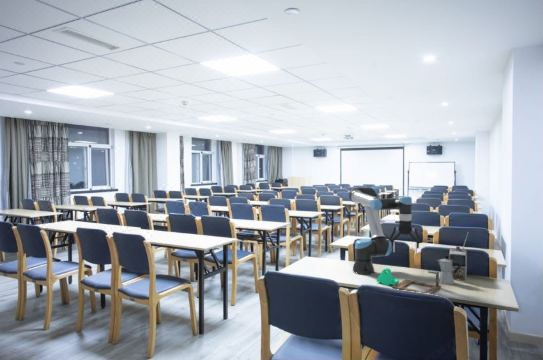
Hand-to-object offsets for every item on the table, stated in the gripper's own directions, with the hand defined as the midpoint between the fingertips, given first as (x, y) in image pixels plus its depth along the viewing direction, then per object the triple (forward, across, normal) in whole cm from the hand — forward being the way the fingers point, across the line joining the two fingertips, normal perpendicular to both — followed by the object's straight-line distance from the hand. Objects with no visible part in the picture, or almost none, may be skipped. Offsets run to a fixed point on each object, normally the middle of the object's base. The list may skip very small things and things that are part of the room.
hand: (404, 252), depth 238 cm
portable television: (+20, +36, +24) cm, 48 cm away
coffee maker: (+20, +27, +7) cm, 34 cm away
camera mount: (+20, -10, -6) cm, 23 cm away
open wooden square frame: (+19, +7, -11) cm, 23 cm away
